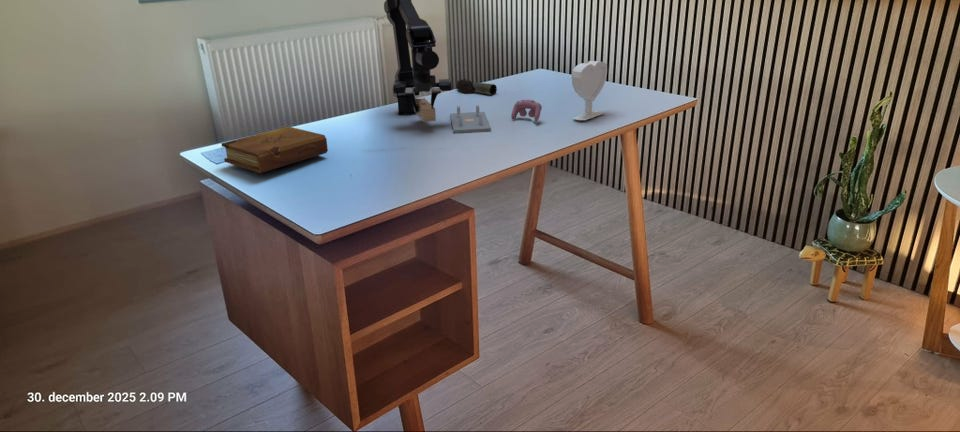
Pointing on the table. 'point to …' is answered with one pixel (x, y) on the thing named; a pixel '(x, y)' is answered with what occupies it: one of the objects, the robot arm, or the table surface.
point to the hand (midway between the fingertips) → (424, 112)
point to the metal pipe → (475, 87)
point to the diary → (274, 149)
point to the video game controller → (527, 104)
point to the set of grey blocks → (476, 115)
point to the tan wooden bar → (425, 110)
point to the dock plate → (469, 123)
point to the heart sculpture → (589, 85)
